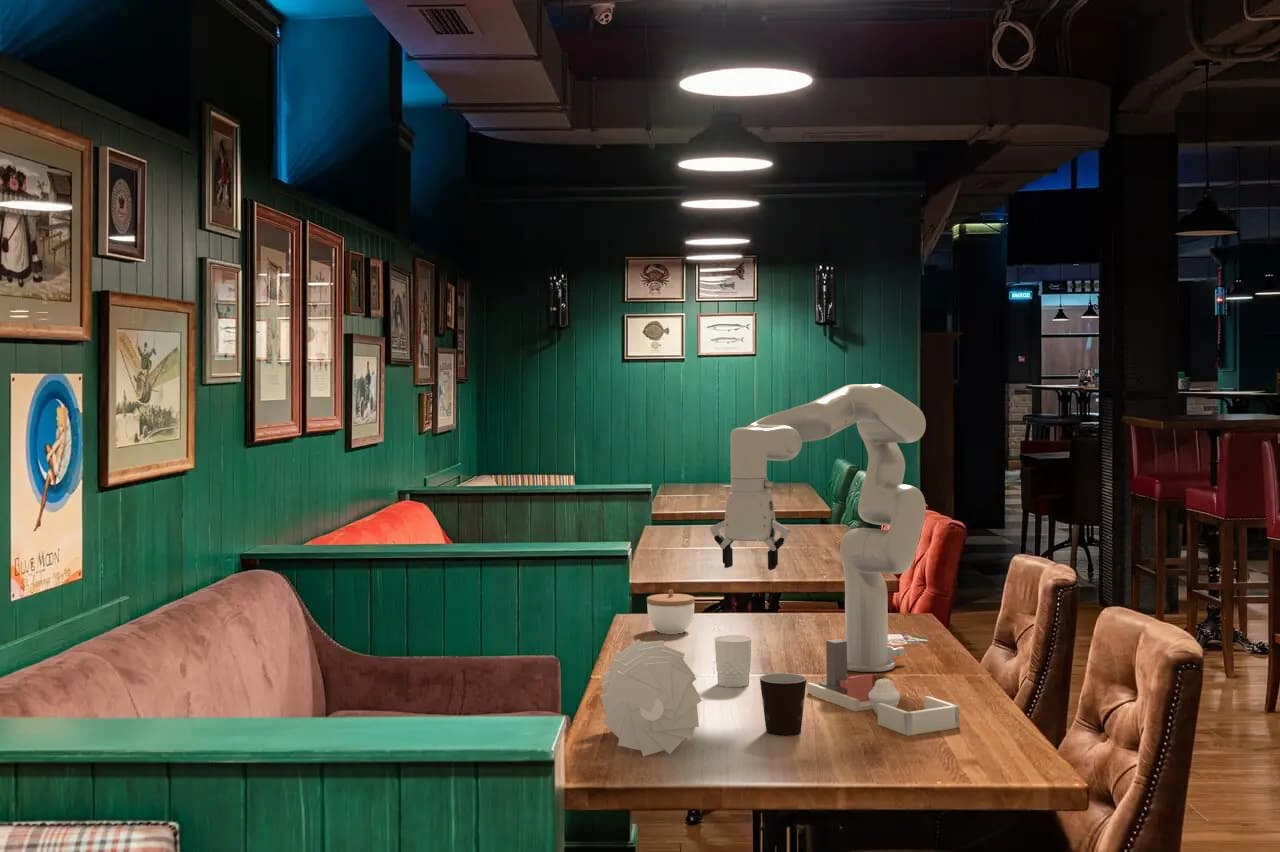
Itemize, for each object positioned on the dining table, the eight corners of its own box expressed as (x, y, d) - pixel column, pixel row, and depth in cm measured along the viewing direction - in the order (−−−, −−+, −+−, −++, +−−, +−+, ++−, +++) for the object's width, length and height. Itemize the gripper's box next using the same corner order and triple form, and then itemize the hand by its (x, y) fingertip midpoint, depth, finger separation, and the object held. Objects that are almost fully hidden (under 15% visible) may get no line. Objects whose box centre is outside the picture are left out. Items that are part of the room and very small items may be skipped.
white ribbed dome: (866, 709, 255) (866, 674, 255) (897, 709, 254) (897, 674, 254) (870, 717, 248) (870, 681, 248) (902, 717, 248) (902, 681, 248)
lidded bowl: (695, 636, 333) (695, 593, 332) (646, 636, 333) (646, 594, 333) (694, 627, 345) (693, 586, 345) (647, 627, 345) (646, 586, 345)
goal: (928, 716, 249) (928, 696, 249) (959, 727, 241) (959, 706, 241) (877, 724, 243) (877, 703, 243) (907, 735, 235) (907, 713, 235)
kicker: (839, 686, 270) (838, 637, 269) (872, 698, 259) (872, 646, 259) (818, 689, 267) (817, 639, 267) (851, 701, 257) (850, 649, 257)
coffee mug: (794, 740, 233) (794, 685, 233) (752, 734, 238) (751, 680, 238) (821, 725, 243) (820, 672, 243) (779, 719, 248) (779, 668, 247)
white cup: (749, 689, 273) (749, 642, 273) (712, 687, 275) (712, 641, 275) (753, 680, 281) (753, 635, 281) (717, 679, 283) (717, 634, 282)
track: (839, 689, 272) (839, 678, 272) (888, 706, 257) (888, 695, 257) (807, 693, 269) (807, 683, 269) (855, 711, 253) (855, 700, 253)
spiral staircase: (669, 745, 245) (678, 778, 220) (585, 707, 245) (584, 736, 220) (709, 657, 246) (723, 680, 221) (625, 619, 246) (629, 638, 221)
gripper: (794, 485, 269) (795, 567, 269) (716, 484, 276) (718, 564, 277) (782, 488, 262) (783, 572, 263) (703, 487, 269) (705, 568, 270)
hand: (750, 568), depth 270 cm, fingers open, 9 cm apart
